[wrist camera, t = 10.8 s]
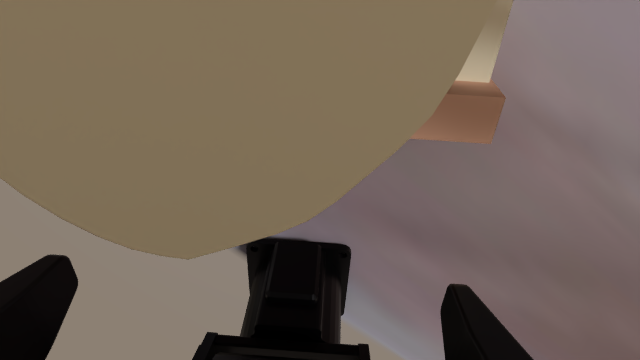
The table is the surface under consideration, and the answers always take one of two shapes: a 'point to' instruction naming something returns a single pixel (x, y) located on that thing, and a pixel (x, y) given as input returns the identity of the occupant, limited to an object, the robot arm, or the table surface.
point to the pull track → (472, 90)
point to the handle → (215, 108)
